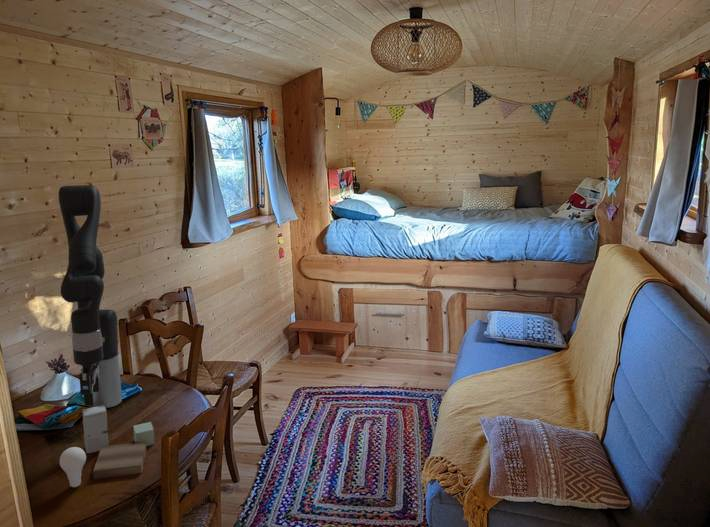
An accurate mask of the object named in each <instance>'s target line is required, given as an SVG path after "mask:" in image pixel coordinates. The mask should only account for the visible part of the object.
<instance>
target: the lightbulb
mask: <svg viewBox="0 0 710 527" xmlns="http://www.w3.org/2000/svg"><path fill="white" fill-rule="evenodd" d="M86 454H87V453H86V451H85V450H84V449H83V448H81V447H78V446H73V447H68V448H67V449H65V450H64V451H63V452H62V453H61V455H60V457H59V461H58V462H59V466H60V467H61V470H63V471H64V472H65V474H66V476H67V479H68V481H69V486H70V487H71V488H78V487H79V486H80V485H81V484H82V478H81V477H82V470H83V467H84V466H85V464H86V461H87V455H86Z"/></svg>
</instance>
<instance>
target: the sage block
mask: <svg viewBox="0 0 710 527" xmlns="http://www.w3.org/2000/svg"><path fill="white" fill-rule="evenodd" d="M132 429H133V430H132V431H133V441H134V443H137V442H146V446H147V447H150V446H154V445H155V431H154V430H155V429H154V426H153V424H152V422H151V421H148V422H143V423H140V424H135V425H133V428H132ZM153 444H154V445H153Z"/></svg>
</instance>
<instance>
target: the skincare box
mask: <svg viewBox="0 0 710 527" xmlns="http://www.w3.org/2000/svg"><path fill="white" fill-rule="evenodd" d="M82 425H83V437H84V448H85V453H86V454H91V453H96V452H100V450H101V447H102V446H109V429H108V414H107V408H105V406H104V405H103V406H98V407H94V406H92V407H89V408H84V409H82Z"/></svg>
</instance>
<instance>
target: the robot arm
mask: <svg viewBox="0 0 710 527" xmlns="http://www.w3.org/2000/svg"><path fill="white" fill-rule="evenodd" d="M58 202H59V203H58V204H59V209H60V212H61V216H62V220H63V224H64V228H65V232H66V234H65V235H66V237H67V238H66V239H67V243H68V244H67V245H68V264H67V269H66V272H65V275H64V277H63V279H62V282H61V284H60V294H61V297H62V299H63V300H64V301H65V302H68V303H77V309H75V310H73V311H72V312H71V314H70V321H71V330H72V331H71V332H72V333H71V342H72V343H71V344H72V352H73V354H72V356H73V362H74V364H76V365H78V366H81V367H82V368H81V369H80V373H79V375H78V377H79V378H78V379H79V389H80V390H79V391H80V392H79V393H80V395H83V399H84V400H83V402H84V406H86V407H88V406H90V407H91V406H92V407H98V406H103V405H104V406H105V409H108V408H113V407H116V406H117V405H119V404H120V403H122V401H123V398H122V384H121V373H120V370H121V369H120V362H119V361H120V360H119V359H120V358H119V339H118V337H119V336H118V335H119V333H118V316H117V313H116V311H115V310H114V309H101V308H100V307H101V301H102V297H103V293H104V289H105V284H104V280H103V279H104V276H105V273H106V271H105V265H104V258H103V252H102V250H100V248H99V247H98V246H97V238H98V231H99V224H100V219H101V218H100V217H101V207H102V206H101V204H102V203H101V195H100V191H99V188H98V187H97V185H92V184H84V185H83V184H82V185H81V184H80V185H78V184H77V185H76V184H75V185H64V186H60V187H59V190H58ZM82 216H83V217H85V216H87V217H86V219H85V221H83V222H84V223H83V224H82V225H81V226H80V225H79V223H78V221H77V219H76V217H82ZM103 339H104V341H103ZM86 387H87V388H86Z"/></svg>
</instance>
